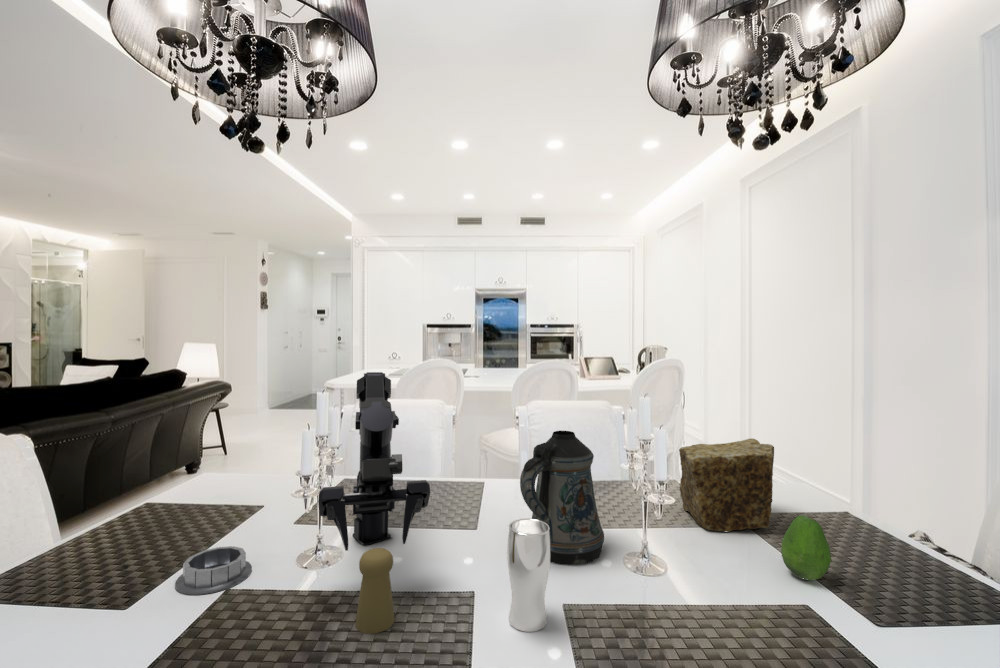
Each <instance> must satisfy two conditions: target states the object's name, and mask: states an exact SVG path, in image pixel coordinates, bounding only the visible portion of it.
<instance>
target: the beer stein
mask: <svg viewBox="0 0 1000 668" xmlns="http://www.w3.org/2000/svg"><path fill="white" fill-rule="evenodd" d="M575 434H576V433H575V432H574V431H570V430H555V431H553V432H552V435H551V437H550V438H549V439H547V441H545V442H543V443H539V444H537V445H535V446H534V448H533V451H532V453H533V455H532V458H529V459H528V460H527V461H526V463H524V465H523V469H522V471H521V474H520V477H519V484H520V485H519V486H520V493H521V496H522V499H523V500H524V503H525V504H526V505H527V507H528V508H529V511H531V512H532V515H531V519H537V520H541V521H543V522H545V523H547V524H548V525H549V527H550V543H551V560H550V563H552V562H553V564H558V565H563V566H565V565H567V566H578V565H579V566H580V565H587V564H589V563H592V562H593V563H594V562H595V560H597V559H599V558H600V557H601V555H602V553H603V547H604V543H605V533H604V530H603V527H602V525H601V522H600V517H599V514H598V508H597V503H596V497H595V491H594V489H595V488H594V485H593V484H594V482H593V475H592V468H591V467H592V464H593V461H594V453H593V451H592V450H591V449H590V448H589V447H588V446H586V444H584V443H583V442H582V441H581V440H580V439H579V438H578V437H576V435H575ZM536 480H537V482H536ZM535 486H536V487H535Z"/></svg>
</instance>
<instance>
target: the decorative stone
mask: <svg viewBox="0 0 1000 668" xmlns="http://www.w3.org/2000/svg"><path fill="white" fill-rule="evenodd" d="M678 451H679V458H680V465H681V469H680V470H681V477H680V484H679V485H680V486H679V491H680V497H681V500H682V508H683V510H684V511H685V512H686V511H688V512H687V513H690V515H691V516H692V518H693V520H694V521H695V522H697V524H698V525H699V526H700V527H702V528H703V529H705V530H707V529H708V530H707V531H718V532H721V531H728V532H731V531H733V530H735V531H737V530H738V531H740V530H741V531H742V530H744V529H750V530H753V529H759V528H765V529H767V528H769V527H770V518H771V516H772V503H773V501H774V500H773V474H774V472H773V470H774V458H775V446H774V445H773V444H769V443H760V441H759V440H757V439H755V438H747V439H742V440H737V441H733V442H726V443H714V444H709V443H708V444H706V443H698V444H692V445H689V446H687V445H686V446H681V447H680V448H679V450H678Z"/></svg>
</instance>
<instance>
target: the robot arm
mask: <svg viewBox="0 0 1000 668" xmlns="http://www.w3.org/2000/svg"><path fill="white" fill-rule="evenodd" d="M355 396H356V399H357V400H359V402H358V406H359V411H356V413H355V421H354V422H355V424H354V425H355V430H356V431H359V433H358V435H359V436H360V437H359V439H360V441H359V470H358V473H357V475H356V476H357V477H356V485H355V486H353V490H352V491H353V492H352V493H351V492H349V493H345V488H344V485H342V486H341V485H340V486H338V485H337V486H325V487H322V488H321V489H320V490H319V492H318V501H317V502H318V509H319V512H318V513H319V516H320V517H325V518H327V519H326V520H328V521H333V522H334V524H335V526H336V528H337V530H338V532H339V535H340V537H341V540H342V545H343V548H344V549H345V551H349V532H348V521H347V512H346V506H352V515H353V516H356V517H355V518H354V519H353V533H352V537H353V538H354V539H355V540H357V541H358V542H359V543H360V544H361V545H363V546H368V545H371V544H375V543H378V542H381V541H386V540H389V539H391V538H392V534H390V533H389V512H390V513H391V512H393V510H394V509H395V507H396V505H395V504H396V502H401V501H403V502H404V501H405V502H404V504H405V506H404V510H403V512H404V513H403V524H402V535H401V537H402V545H406V543H407V539H408V535H409V532H410V531H409V530H410V527H411V524H412V522H413V518H414V517H415V514H417V513H420V512H421V511H422V509H425V508H426V507H428V504H429V501H430V497H431V487H430V482H428V480H426V479H423V480H422V479H421V480H411V481H409V480H408V481H407V482H406V487H405V488H403V489H395V488H394V475H401V474H403V453H399V454H398V453H397V454H396V453H395V454H392V452H391V448H392V446H391V441H392V437H393V429H396V428H397V426H399V424H400V420H399V416H397V414H396V411H395V410H392V404H391V402H390V401H389V399H391V397H392V379H390V378H388V377H387V376H386V373H385V372H384V373H383V372H381V371H379V372H376V371H371V372H369V371H366V373H363V376H362V377H360V378H358V379H357V380H356V395H355Z"/></svg>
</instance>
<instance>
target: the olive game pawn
mask: <svg viewBox="0 0 1000 668" xmlns="http://www.w3.org/2000/svg"><path fill="white" fill-rule="evenodd" d="M358 563H359V564H358V565H359V567H358V568H359V572H360V574H361V575H362V579H361V583H360V589H359V597H358V605H357V610H356V611H357V612H356V616H355V623H354V624H355V625H354V626H355V628H356V630H357V631H358V630H359V631H358V632H360V633H362V634H367V635H368V634H370V635H373V634H380V633H381V632H382V633H383V632H385V631H387V630H388V629H390V628H391V627H392V626H393V625H394V623H395V621H396V620H395V619H396V618H395V611H394V610H395V609H394V602H393V591H392V586H391V585H392V584H391V576H390V572H391V571H392V569H393V566H394V557H393V554H392V552H391V551H390V550H389V549H386V548H382V547H375V548H372V549H368V550H366V551H364V552H363V553H362V555H361V557H360V558H359V562H358Z"/></svg>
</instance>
